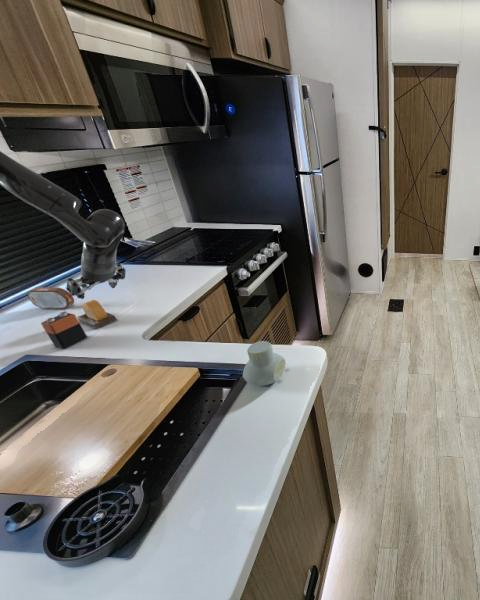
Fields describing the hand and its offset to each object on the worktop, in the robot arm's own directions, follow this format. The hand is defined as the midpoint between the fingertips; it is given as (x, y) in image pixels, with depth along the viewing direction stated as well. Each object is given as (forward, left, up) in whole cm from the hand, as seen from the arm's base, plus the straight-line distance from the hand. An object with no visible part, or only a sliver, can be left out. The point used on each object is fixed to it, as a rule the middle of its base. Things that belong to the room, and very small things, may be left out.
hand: (96, 291), depth 106 cm
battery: (-11, +3, -14) cm, 18 cm away
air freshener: (+5, -67, -14) cm, 69 cm away
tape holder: (0, +11, -14) cm, 18 cm away
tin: (-2, +38, -14) cm, 41 cm away
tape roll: (0, +11, -14) cm, 18 cm away
